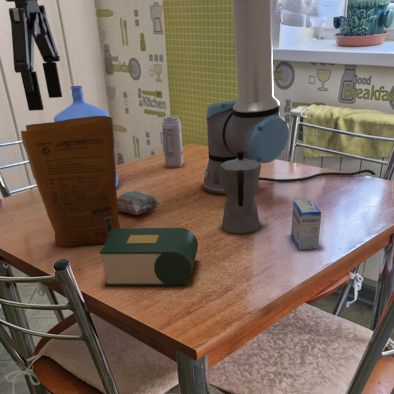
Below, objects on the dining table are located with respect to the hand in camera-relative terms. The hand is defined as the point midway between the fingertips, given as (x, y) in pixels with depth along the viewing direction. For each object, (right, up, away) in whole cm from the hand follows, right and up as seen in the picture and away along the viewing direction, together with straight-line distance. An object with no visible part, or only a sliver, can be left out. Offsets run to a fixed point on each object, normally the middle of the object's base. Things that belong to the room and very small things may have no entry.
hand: (46, 103), depth 105 cm
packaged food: (+14, -13, +34) cm, 39 cm away
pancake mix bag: (+5, -25, +19) cm, 32 cm away
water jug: (-1, -1, +53) cm, 53 cm away
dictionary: (+22, -34, +4) cm, 40 cm away
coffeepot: (+41, -21, +21) cm, 51 cm away
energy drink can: (+23, +11, +68) cm, 73 cm away
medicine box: (+55, -26, +13) cm, 62 cm away
